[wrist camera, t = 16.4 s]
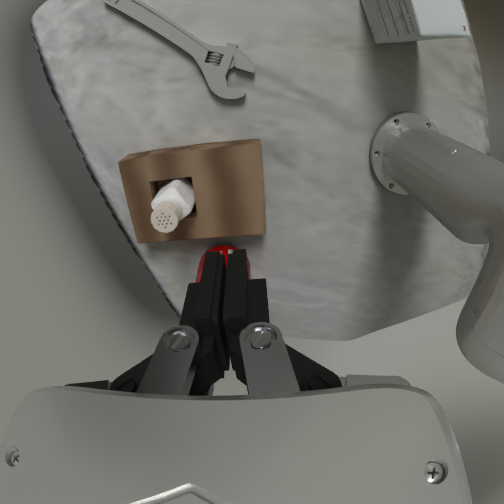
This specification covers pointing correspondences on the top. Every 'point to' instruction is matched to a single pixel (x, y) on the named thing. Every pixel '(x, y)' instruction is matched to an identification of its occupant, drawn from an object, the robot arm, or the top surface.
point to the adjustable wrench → (192, 46)
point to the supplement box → (415, 20)
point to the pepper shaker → (172, 204)
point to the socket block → (199, 189)
